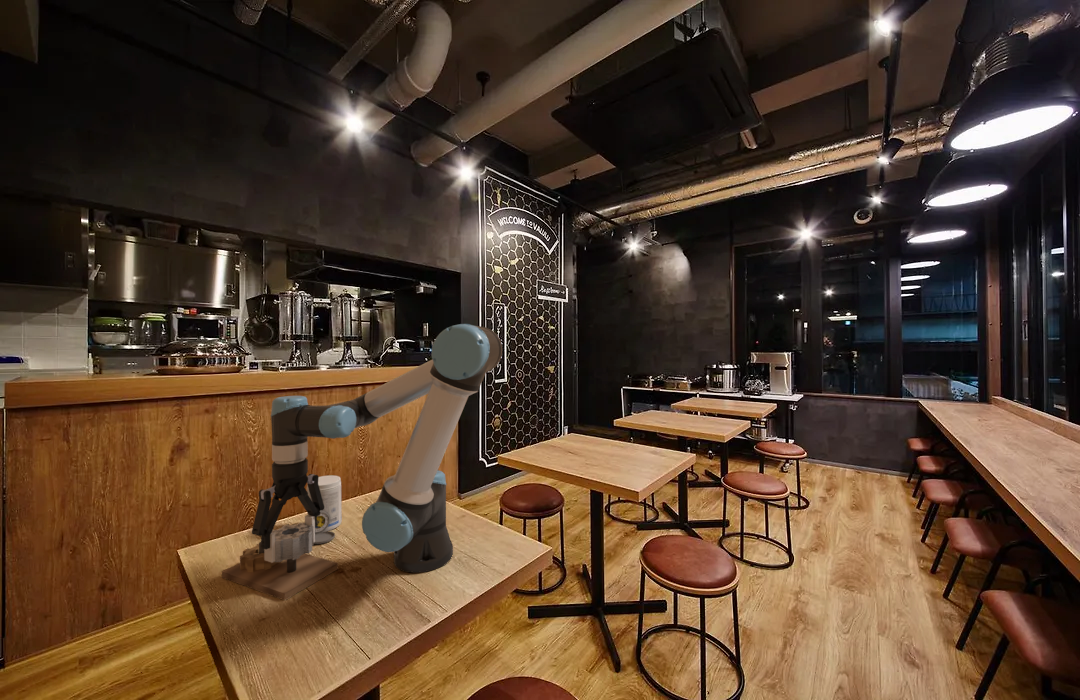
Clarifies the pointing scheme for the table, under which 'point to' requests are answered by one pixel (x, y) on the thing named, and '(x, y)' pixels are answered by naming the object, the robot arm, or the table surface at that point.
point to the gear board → (278, 572)
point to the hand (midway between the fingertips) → (290, 550)
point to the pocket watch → (319, 534)
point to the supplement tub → (330, 499)
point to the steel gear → (293, 541)
